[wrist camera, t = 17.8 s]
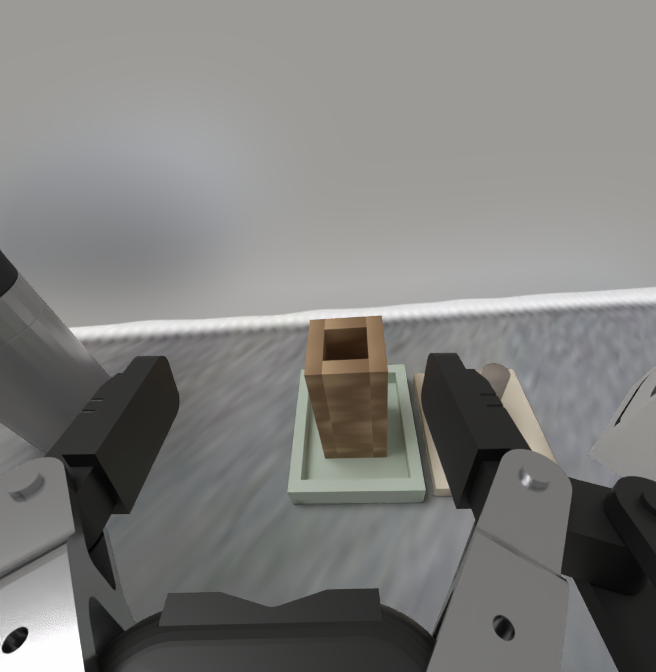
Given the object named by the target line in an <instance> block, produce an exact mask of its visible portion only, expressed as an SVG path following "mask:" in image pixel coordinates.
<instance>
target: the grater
mask: <svg viewBox="0 0 656 672" xmlns="http://www.w3.org/2000/svg"><path fill="white" fill-rule="evenodd" d="M637 388H639V390H638V391H637V393H636V394H635V396H634V398H633V399H632V401H631V402H630V404H629V406H628V407H627V409H626V410H625V412H624V414H623V415H622V417H621V419H620V420H621V422H620V423H618V424H617V425H616V426H615V427H614V425H615V423H616V421H617V419H618V418H619V416H620V415H621V413H622V411H623V410H624V408H625V407H626V405H627V404H628V402H629V400H630V399H631V397H632V396H633V394H634V392H635V391H636V389H637ZM651 394H652V395H653V396H652V397H651V398H650V396H651ZM587 456H589V457H590V458H592V459H594V460H595V461H597V462H598V463H600V464H602V465H603V466H605V467H607V468H608V469H610V470H612V471H613V472H615V473H616V474H618V475H620V476H621V477H626V476H638V477H643V478H647V479H650V480H653V481H655V482H656V366H655V367H653V368H652V369H651V370H650V371H649V372H648V373H646V374H645V375H644V376H643V377H642V378H641V379H639V380H638V381H637V382H636V383H635V384H634V385H633V386H632V387H631V389H630V390H629V392H628V393H627V395H626V396H625V398H624V399H623V401H622V403H621V404H620V406H619V407H618V409H617V410H616V412H615V413H614V415H613V416H612V418H611V420H610V421H609V423H608V424H607V426H606V427H605V429H604V430H603V432H602V433H601V435H600V437H599V438H598V440H597V441H596V443H595V444H594V446H593V447H592V449H591V450H590V452H589V454H588V455H587Z"/></svg>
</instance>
